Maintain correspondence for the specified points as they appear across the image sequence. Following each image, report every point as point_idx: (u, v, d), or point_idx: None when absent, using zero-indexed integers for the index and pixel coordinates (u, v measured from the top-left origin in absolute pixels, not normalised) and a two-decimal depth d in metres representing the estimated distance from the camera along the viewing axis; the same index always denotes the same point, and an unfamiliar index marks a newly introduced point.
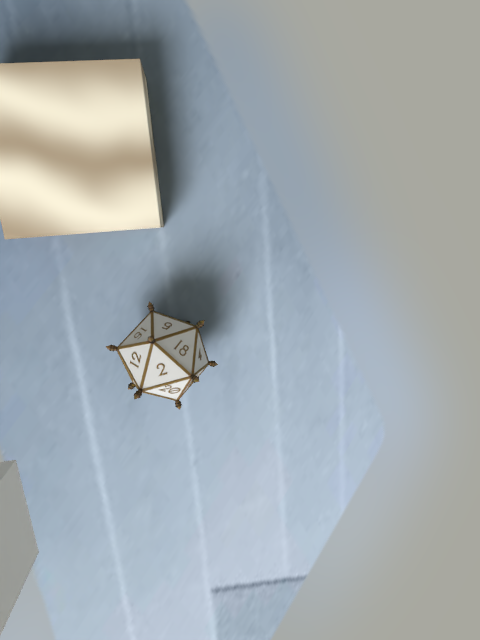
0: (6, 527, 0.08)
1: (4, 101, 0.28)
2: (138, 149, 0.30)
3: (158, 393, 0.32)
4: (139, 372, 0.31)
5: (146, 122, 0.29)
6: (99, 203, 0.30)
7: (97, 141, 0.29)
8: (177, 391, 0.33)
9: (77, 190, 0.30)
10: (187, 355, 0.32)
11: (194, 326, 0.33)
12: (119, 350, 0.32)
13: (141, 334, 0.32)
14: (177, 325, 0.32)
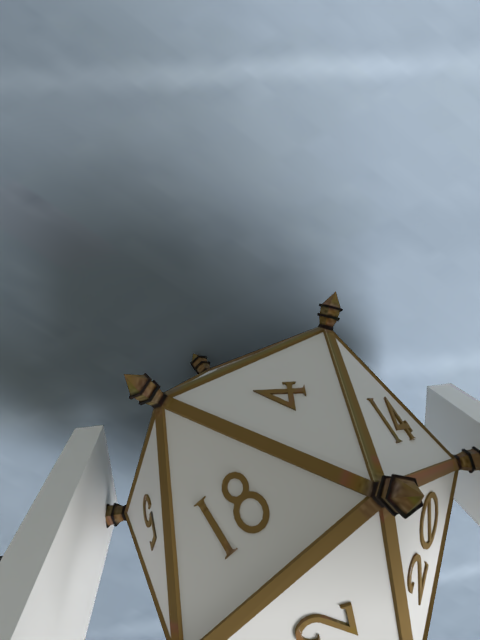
0: (101, 480, 0.10)
1: None
2: None
3: (431, 583, 0.08)
4: None
5: None
6: None
7: None
8: (432, 497, 0.08)
9: None
10: (271, 487, 0.06)
11: (156, 411, 0.08)
12: None
13: None
14: (151, 476, 0.08)
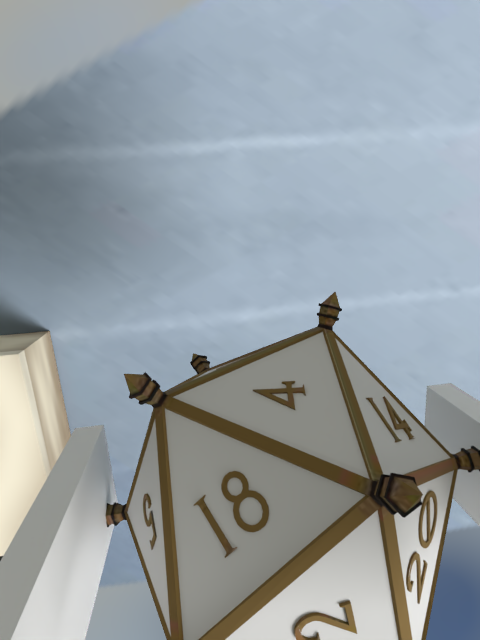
0: (101, 480, 0.10)
1: None
2: None
3: (430, 582, 0.08)
4: None
5: None
6: None
7: None
8: (431, 496, 0.08)
9: None
10: (271, 488, 0.06)
11: (155, 411, 0.08)
12: None
13: None
14: (151, 476, 0.08)
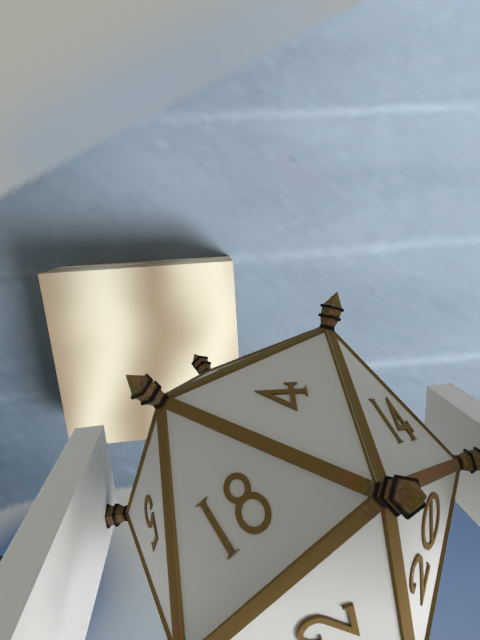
0: (101, 480, 0.10)
1: (101, 416, 0.26)
2: (141, 282, 0.24)
3: (433, 583, 0.08)
4: None
5: (108, 270, 0.24)
6: (204, 330, 0.25)
7: (134, 327, 0.25)
8: (434, 497, 0.08)
9: (190, 353, 0.26)
10: (273, 489, 0.06)
11: (157, 412, 0.08)
12: None
13: None
14: (152, 477, 0.08)
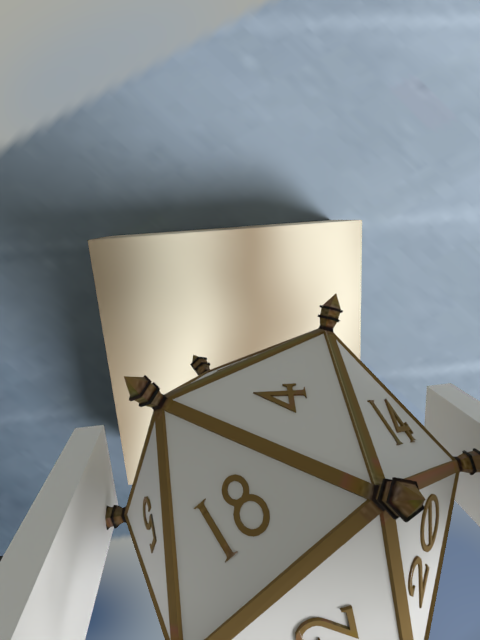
0: (101, 480, 0.10)
1: None
2: (234, 251, 0.17)
3: (432, 585, 0.07)
4: None
5: (189, 234, 0.17)
6: (317, 319, 0.18)
7: (222, 317, 0.18)
8: (432, 499, 0.08)
9: None
10: (272, 491, 0.06)
11: (155, 414, 0.08)
12: None
13: None
14: (151, 479, 0.08)
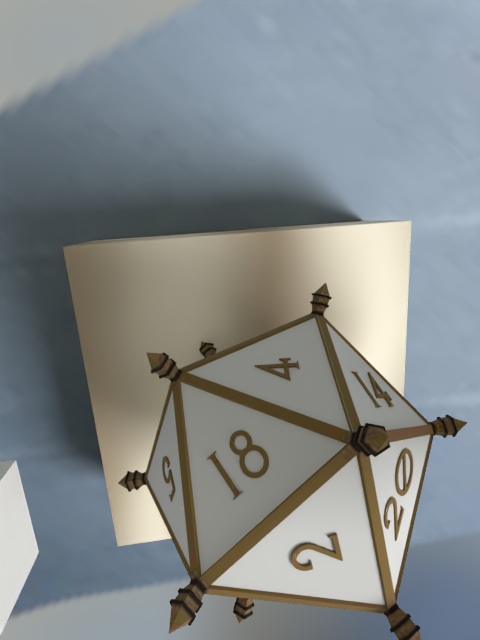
0: (6, 527, 0.08)
1: None
2: (250, 261, 0.13)
3: (407, 525, 0.09)
4: None
5: (193, 239, 0.13)
6: (352, 344, 0.15)
7: (234, 343, 0.14)
8: (407, 453, 0.09)
9: None
10: (270, 441, 0.08)
11: (173, 384, 0.09)
12: None
13: None
14: (169, 440, 0.09)
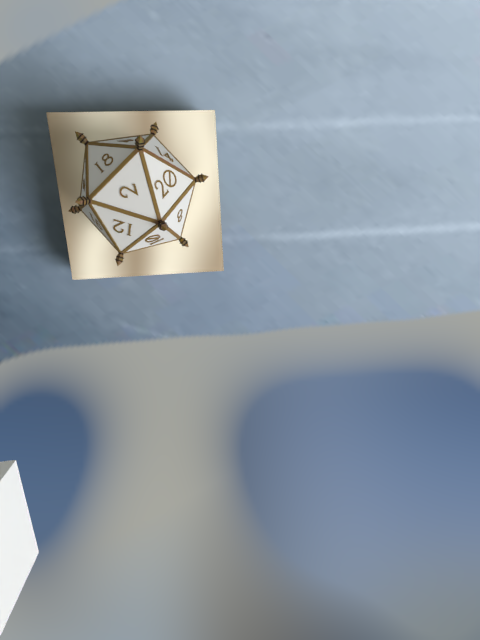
0: (6, 527, 0.08)
1: (100, 251, 0.30)
2: (136, 125, 0.28)
3: (171, 200, 0.24)
4: (136, 222, 0.24)
5: (107, 112, 0.28)
6: None
7: None
8: (173, 174, 0.24)
9: None
10: (114, 154, 0.23)
11: (85, 146, 0.24)
12: (121, 250, 0.26)
13: (95, 220, 0.25)
14: (84, 171, 0.24)
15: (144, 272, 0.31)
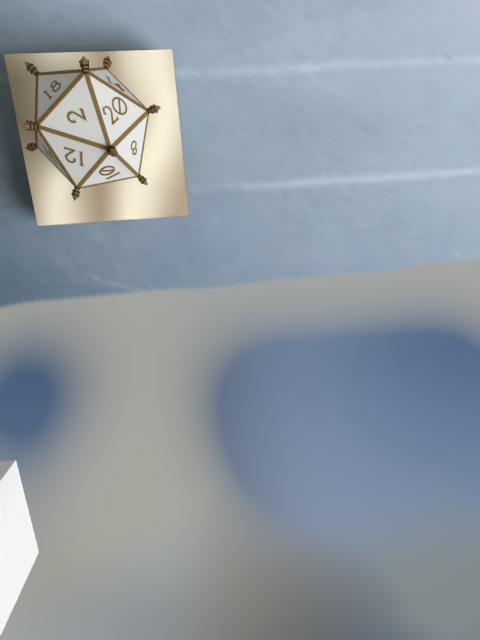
0: (6, 527, 0.08)
1: (63, 196, 0.30)
2: (93, 66, 0.28)
3: (122, 128, 0.24)
4: (87, 150, 0.24)
5: (64, 53, 0.28)
6: (150, 115, 0.30)
7: None
8: (123, 103, 0.24)
9: None
10: (62, 80, 0.23)
11: (36, 77, 0.24)
12: (77, 183, 0.26)
13: (49, 152, 0.25)
14: None
15: (108, 217, 0.31)
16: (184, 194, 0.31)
